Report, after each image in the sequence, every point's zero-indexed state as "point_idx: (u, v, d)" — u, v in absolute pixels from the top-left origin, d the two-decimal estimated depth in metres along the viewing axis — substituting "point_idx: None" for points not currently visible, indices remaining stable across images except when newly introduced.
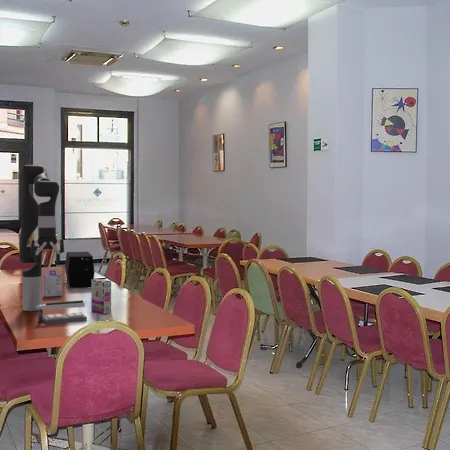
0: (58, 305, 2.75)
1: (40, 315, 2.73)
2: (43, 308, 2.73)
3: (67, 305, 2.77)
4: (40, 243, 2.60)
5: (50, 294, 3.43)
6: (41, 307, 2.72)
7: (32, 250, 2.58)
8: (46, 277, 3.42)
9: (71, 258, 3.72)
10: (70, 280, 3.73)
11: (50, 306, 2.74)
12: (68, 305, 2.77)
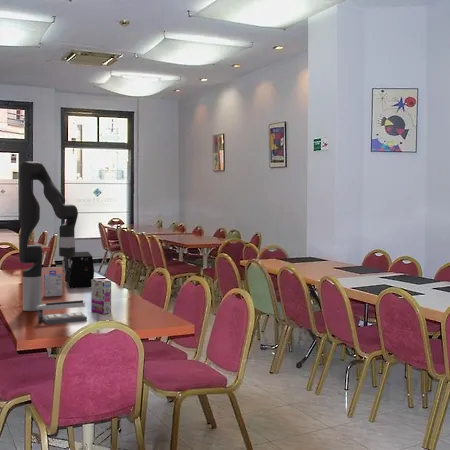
0: (58, 305, 2.75)
1: (40, 315, 2.73)
2: (43, 308, 2.73)
3: (67, 305, 2.77)
4: None
5: (50, 294, 3.43)
6: (41, 307, 2.72)
7: None
8: (46, 277, 3.42)
9: (71, 258, 3.72)
10: (70, 280, 3.73)
11: (50, 306, 2.74)
12: (68, 305, 2.77)
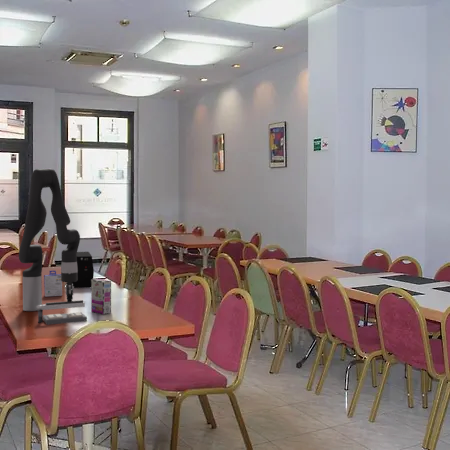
0: (58, 305, 2.75)
1: (40, 315, 2.73)
2: (43, 308, 2.73)
3: (67, 305, 2.77)
4: (72, 290, 2.80)
5: (50, 294, 3.43)
6: (41, 307, 2.72)
7: None
8: (46, 277, 3.42)
9: None
10: None
11: (50, 306, 2.74)
12: (68, 305, 2.77)
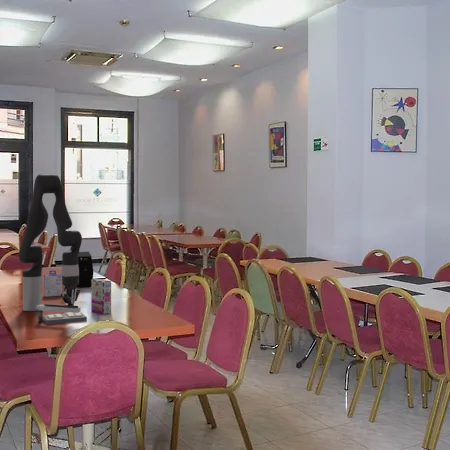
0: (53, 307, 2.70)
1: (40, 315, 2.73)
2: (40, 308, 2.72)
3: (61, 309, 2.68)
4: (69, 293, 2.70)
5: (50, 294, 3.43)
6: (38, 307, 2.72)
7: (69, 301, 2.69)
8: (46, 277, 3.42)
9: None
10: None
11: (46, 307, 2.71)
12: (62, 309, 2.68)
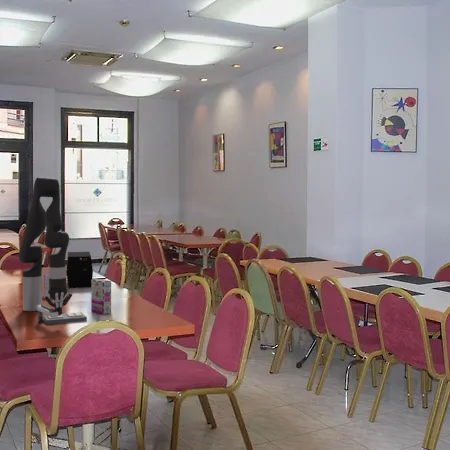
0: (42, 309, 2.66)
1: (40, 315, 2.73)
2: (37, 308, 2.72)
3: (45, 311, 2.63)
4: (53, 297, 2.62)
5: None
6: (37, 307, 2.72)
7: (52, 304, 2.61)
8: (46, 277, 3.42)
9: (69, 258, 3.72)
10: (69, 280, 3.73)
11: (39, 308, 2.69)
12: (45, 311, 2.62)
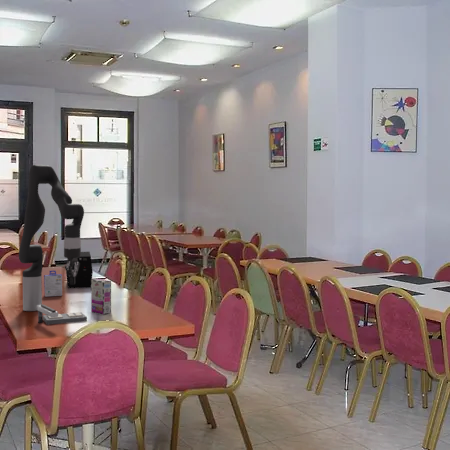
0: (42, 309, 2.66)
1: (40, 315, 2.73)
2: (37, 308, 2.72)
3: (45, 311, 2.63)
4: (72, 266, 2.73)
5: (50, 294, 3.43)
6: (37, 307, 2.72)
7: (72, 273, 2.72)
8: (46, 277, 3.42)
9: None
10: (69, 280, 3.73)
11: (39, 308, 2.69)
12: (45, 311, 2.62)
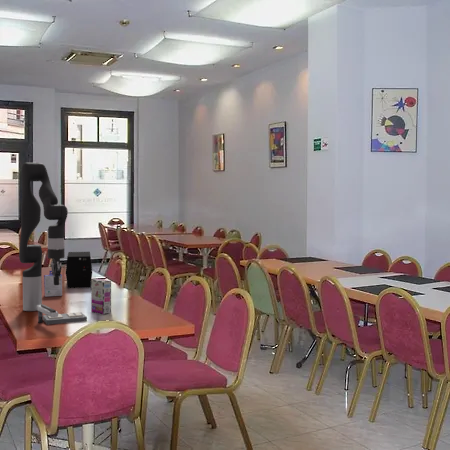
0: (42, 309, 2.66)
1: (40, 315, 2.73)
2: (37, 308, 2.72)
3: (45, 311, 2.63)
4: None
5: (50, 294, 3.43)
6: (37, 307, 2.72)
7: (60, 273, 2.74)
8: (46, 277, 3.42)
9: (69, 258, 3.73)
10: (68, 280, 3.73)
11: (39, 308, 2.69)
12: (45, 311, 2.62)
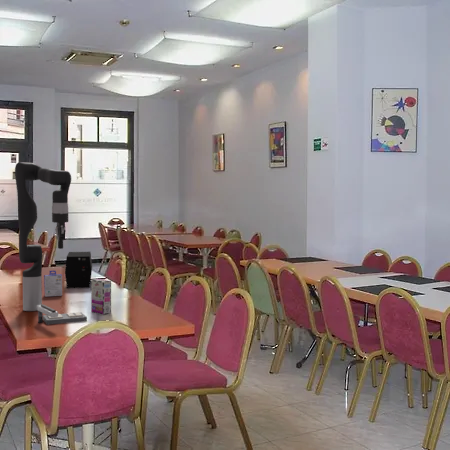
0: (42, 309, 2.66)
1: (40, 315, 2.73)
2: (37, 308, 2.72)
3: (45, 311, 2.63)
4: None
5: (50, 294, 3.43)
6: (37, 307, 2.72)
7: None
8: (46, 277, 3.42)
9: (68, 258, 3.73)
10: (67, 280, 3.73)
11: (39, 308, 2.69)
12: (45, 311, 2.62)
